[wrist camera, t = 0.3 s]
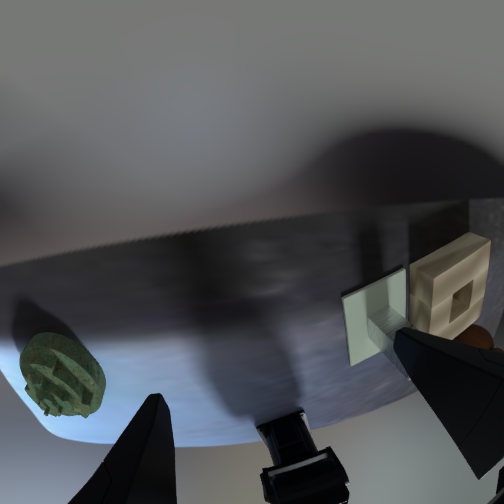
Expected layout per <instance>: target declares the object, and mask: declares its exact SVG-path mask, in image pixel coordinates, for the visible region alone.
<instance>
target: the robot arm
mask: <svg viewBox="0 0 504 504" xmlns="http://www.w3.org/2000/svg"><path fill="white" fill-rule="evenodd" d="M393 349H394V352H395V353H396V355H397V357H398V358H399V360H400V362H401V364H402V365H403V367H404V369H405V370H406V372H407V374H408V376H409V377H410V379H411V380H412V382H413V383H414V385H415V386H416V387H417V389H418V390H419V391H420V393H421V394H422V396H423V397H424V398H425V400H426V401H427V403H428V404H429V405H430V407H431V408H432V410H433V411H434V412H435V414H436V415H437V417H438V418H439V420H440V421H441V423H442V424H443V426H444V427H445V429H446V430H447V432H448V433H449V435H450V436H451V437H452V439H453V441H454V442H455V443H456V445H457V446H458V448H459V450H460V452H461V453H462V455H463V456H464V458H465V459H466V461H467V463H468V464H469V466H470V467H471V469H472V470H473V472H474V474H475V476H476V477H477V479H478V480H480V479H481V478H482V477H484V476H485V475H486V474H487V473H488V472H489V471H490V470H491V469H492V468H493V467H494V466H496V465H497V464H498V463H499V462H500V461H501V460H502V459H503V457H504V353H501V352H496V351H491V350H487V349H483V348H480V347H478V348H477V347H476V346H472V345H468V344H465V343H461V342H457V341H454V340H450V339H446V338H443V337H439V336H436V335H432V334H429V333H425V332H422V331H418V330H415V329H411V328H408V327H403V328H401V329H398V330H397V331H396V333H395V339H394V344H393ZM257 432H258V433H259V435H260V436H261V438H262V439H263V441H264V443H265V444H266V446H267V447H268V449H269V452H270V455H271V458H272V461H273V464H274V466H272V467H269V468H263V469H262V470H263V473H261V474H260V478H261V481H262V485H263V491H264V498H265V501H266V502H268V503H270V504H348V499H349V491H348V489H347V486H348V485H349V480H348V476H347V474H346V471H345V469H344V467H343V466H342V464H341V463H340V461H339V459H338V458H337V456H336V455H335V453H334V451H333V450H332V448H331V447H330V446H329V447H326V449H323V450H320V451H318V450H317V448H316V446H315V444H314V441H313V439H312V437H311V435H310V434H311V430H310V426H309V423H308V420H307V417H306V414H305V412H304V411H300V412H297V413H295V414H292V415H289V416H287V417H284V418H281V419H278V420H275V421H273V422H270V423H267V424H264V425H261V426H258V427H257ZM496 494H497V495H496V496H495V497H494V498H493V499H492V500H491V501H490V502H489V503H488V504H504V466H503V467H502V468H501V469H500V470H499V477H498V484H497V490H496ZM68 504H177V496H176V475H175V447H174V439H173V432H172V424H171V415H170V410H169V407H168V405H167V403H166V402H165V400H164V398H163V396H162V395H161V394H160V393H156V394H150V395H149V396H148V397H147V398H146V400H145V401H144V403H143V404H142V406H141V407H140V408H139V410H138V411H137V413H136V414H135V416H134V417H133V418H132V420H131V421H130V423H129V424H128V426H127V427H126V429H125V430H124V431H123V433H122V434H121V436H120V437H119V439H118V440H117V441H116V443H115V444H114V446H113V447H112V449H111V450H110V452H109V453H108V454H107V456H106V457H105V459H104V462H102V463H101V464H100V466H99V467H98V469H97V470H96V471H95V473H94V474H93V476H92V477H91V478H90V479H89V480H88V482H87V483H86V484H85V485H84V486H83V488H82V489H81V490H80V491H79V492H78V493H77V494H76V495H75V496H74V497H73V498H72V499H71V501H70V502H69V503H68Z"/></svg>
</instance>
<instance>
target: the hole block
mask: <svg viewBox="0 0 504 504" xmlns="http://www.w3.org/2000/svg"><path fill="white" fill-rule="evenodd" d="M490 243H491V240H488V239H486V238H483V237H481V236H478V235H476V234H473V233H471V232H467V233H466V234H464V235H462V236H461V237H459V238H457V239H455V240H454V241H452V242H450V243H449V244H447V245H445V246H443V247H441V248H440V249H438V250H436V251H434V252H432V253H431V254H429V255H427V256H425V257H423V258H421V259H419V260H417V261H416V262H414V263H412V264H410V305H409V322H410V323H411V324H412V325H414V326H415V327H416V328H417V329H418V330H419V331H422V332H425V333H429V334H432V335H436V336H439V337H443V338H446V339H450V340H452V339H454V338H455V337H456V336H458V335H459V334H460V333H461V332H462V331H464V330H465V329H466V328H467V327H468V326H470V325H471V324H472V323H473V322H474V321H475V320H477V319H478V318H479V317H480V313H481V308H482V303H483V298H484V292H485V286H486V280H487V273H488V265H489V255H490Z"/></svg>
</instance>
